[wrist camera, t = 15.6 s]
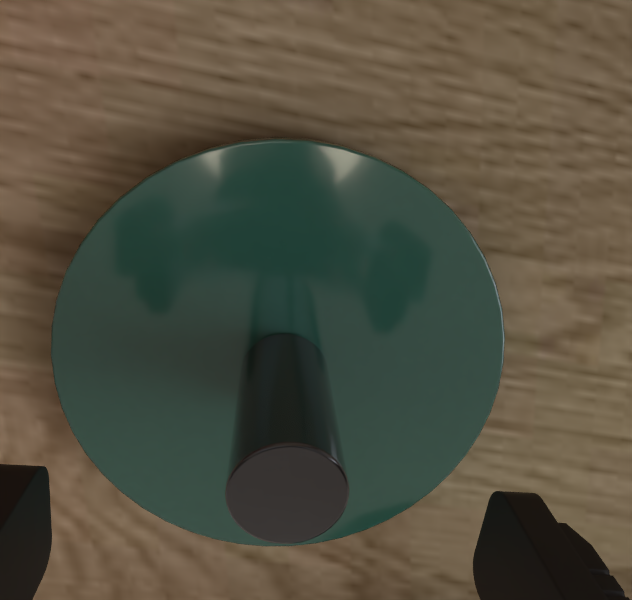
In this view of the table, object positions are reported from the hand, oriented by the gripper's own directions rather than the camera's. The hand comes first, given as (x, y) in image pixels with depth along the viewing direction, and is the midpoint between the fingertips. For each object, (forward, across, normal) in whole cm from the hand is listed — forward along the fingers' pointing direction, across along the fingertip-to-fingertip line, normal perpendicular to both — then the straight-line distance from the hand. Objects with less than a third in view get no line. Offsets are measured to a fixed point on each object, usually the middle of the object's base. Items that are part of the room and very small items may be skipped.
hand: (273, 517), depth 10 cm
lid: (+6, 0, 0) cm, 6 cm away
